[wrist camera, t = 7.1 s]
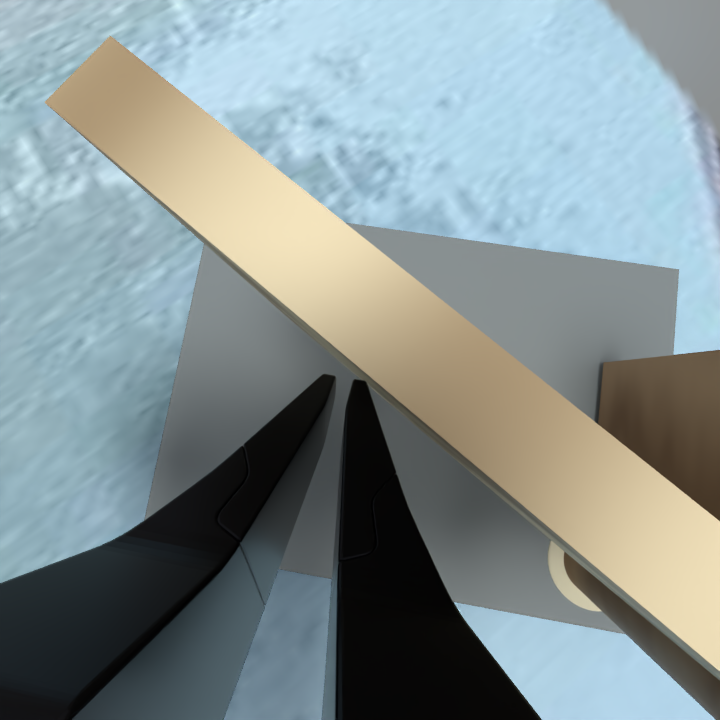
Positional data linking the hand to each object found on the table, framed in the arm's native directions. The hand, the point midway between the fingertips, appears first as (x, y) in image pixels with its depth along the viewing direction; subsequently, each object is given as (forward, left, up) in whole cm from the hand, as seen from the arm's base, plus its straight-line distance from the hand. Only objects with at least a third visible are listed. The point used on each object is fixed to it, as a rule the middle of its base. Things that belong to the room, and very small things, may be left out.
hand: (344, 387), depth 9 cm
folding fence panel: (-2, -3, -5) cm, 6 cm away
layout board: (-2, -3, -7) cm, 8 cm away
